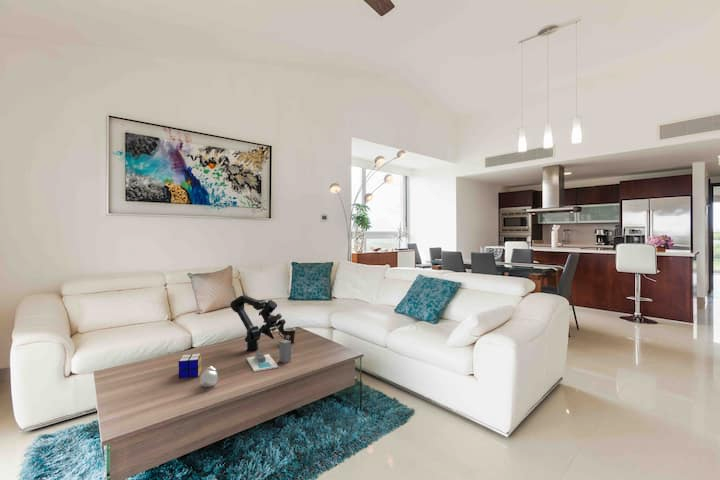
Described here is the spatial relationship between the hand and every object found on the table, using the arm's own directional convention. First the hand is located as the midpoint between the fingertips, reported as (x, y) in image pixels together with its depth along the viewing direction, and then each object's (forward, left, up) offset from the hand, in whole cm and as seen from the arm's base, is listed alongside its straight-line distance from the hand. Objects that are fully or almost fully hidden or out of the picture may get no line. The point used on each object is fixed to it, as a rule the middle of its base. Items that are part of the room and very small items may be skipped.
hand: (278, 336), depth 222 cm
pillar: (+6, -5, -14) cm, 16 cm away
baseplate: (-8, -10, -14) cm, 19 cm away
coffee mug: (-2, +30, -14) cm, 33 cm away
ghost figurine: (-24, -42, -14) cm, 51 cm away
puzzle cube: (-42, -29, -14) cm, 53 cm away
